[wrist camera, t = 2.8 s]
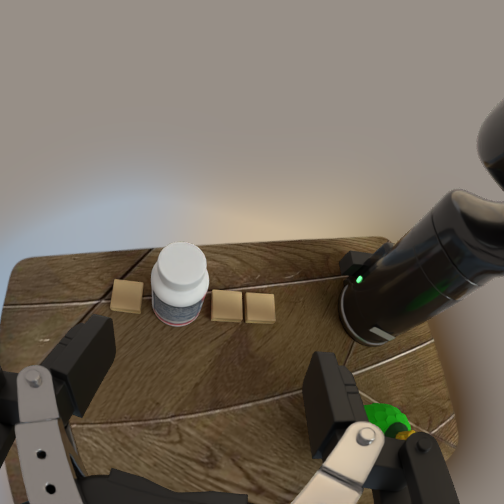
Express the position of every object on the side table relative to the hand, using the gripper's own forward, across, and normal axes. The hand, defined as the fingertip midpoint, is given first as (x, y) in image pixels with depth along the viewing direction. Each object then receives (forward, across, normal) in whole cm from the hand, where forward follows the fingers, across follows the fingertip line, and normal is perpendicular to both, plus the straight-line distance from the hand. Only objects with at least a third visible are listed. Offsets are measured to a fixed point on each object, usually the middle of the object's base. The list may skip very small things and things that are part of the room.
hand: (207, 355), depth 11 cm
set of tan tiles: (+18, +3, +9) cm, 21 cm away
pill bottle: (+18, +5, +9) cm, 21 cm away
